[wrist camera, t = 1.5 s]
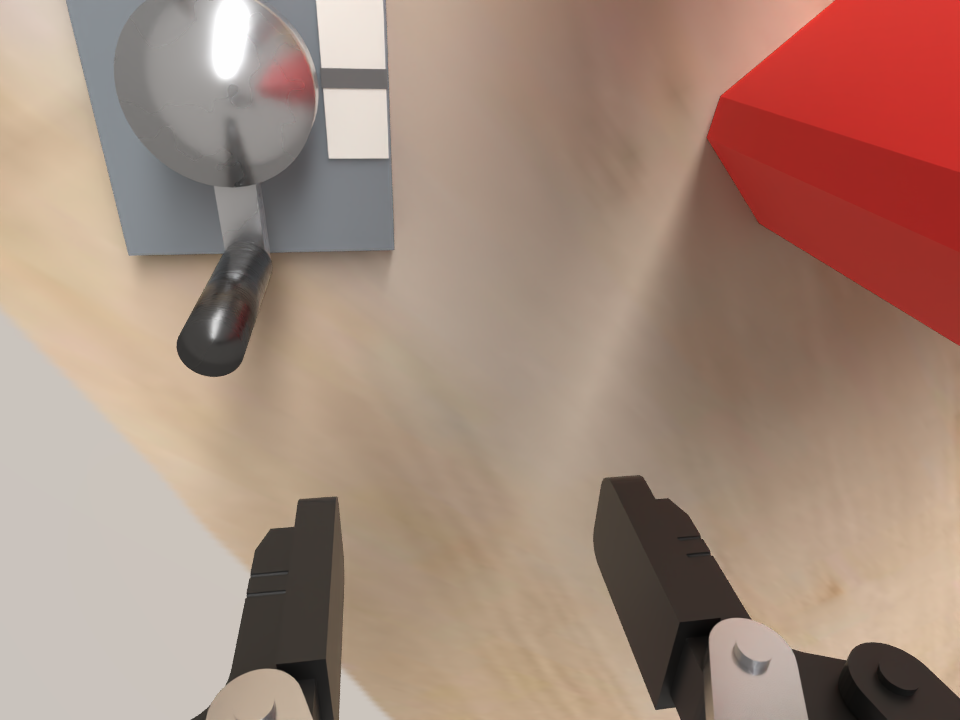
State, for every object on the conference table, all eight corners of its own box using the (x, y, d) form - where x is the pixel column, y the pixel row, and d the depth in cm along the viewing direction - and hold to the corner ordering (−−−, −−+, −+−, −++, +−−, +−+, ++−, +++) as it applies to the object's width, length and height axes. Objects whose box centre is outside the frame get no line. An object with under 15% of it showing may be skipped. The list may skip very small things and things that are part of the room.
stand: (379, -141, 23) (381, -160, 20) (393, 238, 30) (396, 268, 27) (43, -162, 22) (-12, -187, 18) (139, 243, 29) (110, 275, 25)
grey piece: (300, -130, 20) (263, -191, 13) (333, 270, 26) (321, 371, 19) (87, -143, 19) (-71, -215, 12) (176, 274, 25) (105, 381, 19)
